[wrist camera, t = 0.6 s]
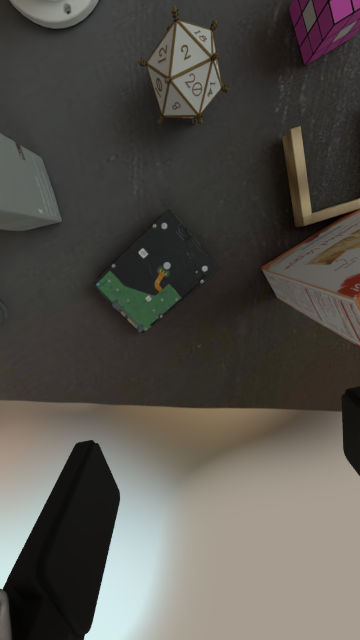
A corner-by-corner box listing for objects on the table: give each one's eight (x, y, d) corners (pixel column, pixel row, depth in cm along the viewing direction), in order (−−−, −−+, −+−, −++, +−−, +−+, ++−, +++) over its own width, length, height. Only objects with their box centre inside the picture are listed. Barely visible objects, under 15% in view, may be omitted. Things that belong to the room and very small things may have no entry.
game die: (198, 108, 33) (261, 79, 25) (161, 154, 32) (215, 137, 24) (158, 19, 27) (225, -53, 19) (110, 73, 26) (161, 18, 18)
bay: (281, 137, 30) (290, 129, 28) (380, 103, 29) (397, 91, 27) (295, 227, 34) (303, 226, 31) (384, 199, 33) (400, 196, 30)
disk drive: (169, 209, 33) (96, 281, 36) (168, 206, 30) (89, 285, 33) (217, 266, 36) (145, 330, 38) (220, 268, 33) (142, 337, 36)
